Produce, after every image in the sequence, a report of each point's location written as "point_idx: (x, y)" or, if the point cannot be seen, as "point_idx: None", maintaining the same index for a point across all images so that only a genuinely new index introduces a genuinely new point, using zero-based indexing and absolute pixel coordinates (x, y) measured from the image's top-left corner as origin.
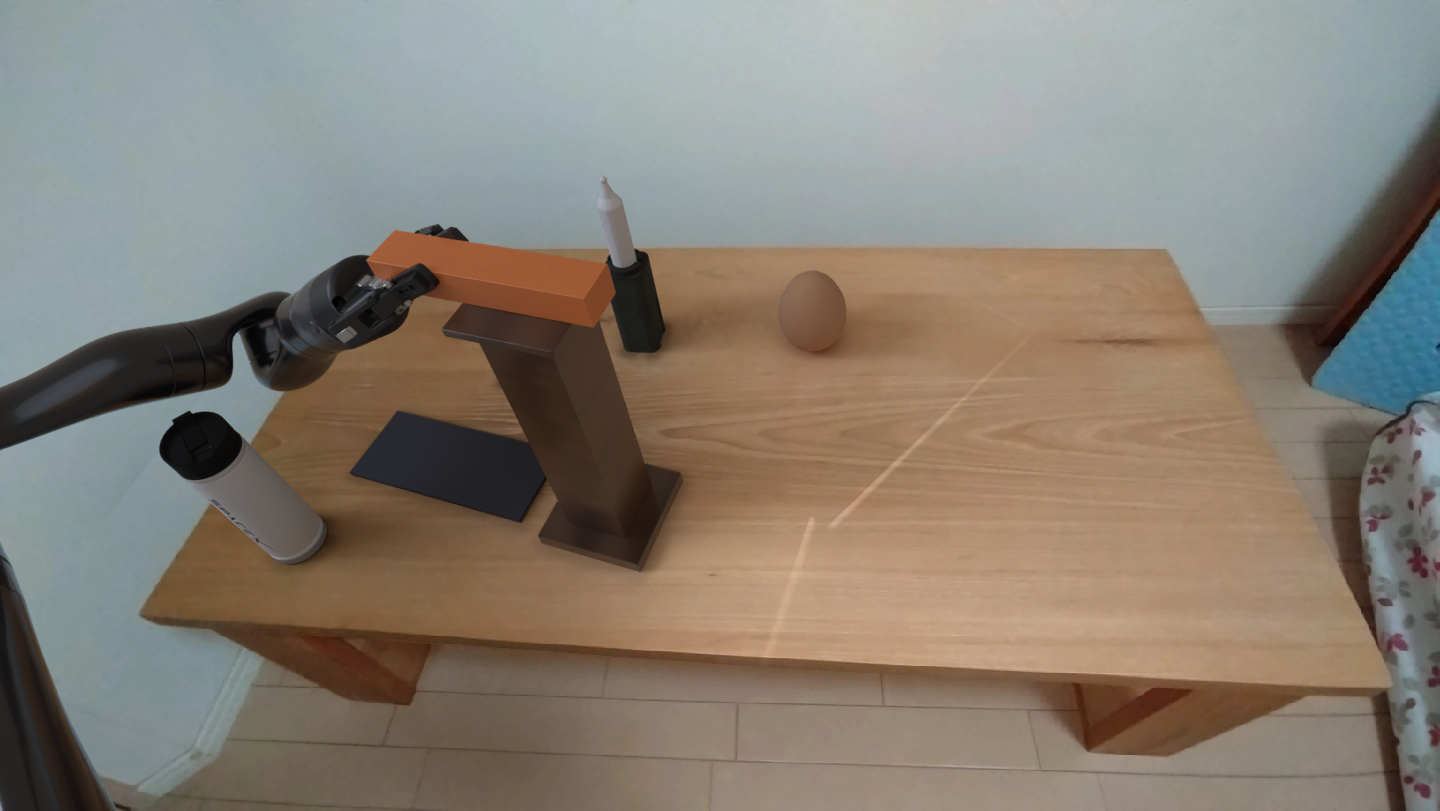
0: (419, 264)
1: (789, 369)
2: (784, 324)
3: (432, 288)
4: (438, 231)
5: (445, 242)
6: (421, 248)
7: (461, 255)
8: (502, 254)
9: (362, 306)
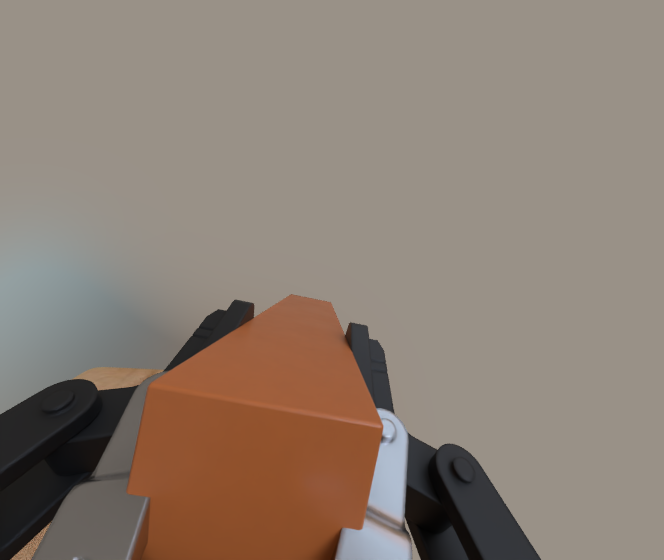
0: (353, 323)
1: (36, 547)
2: None
3: None
4: (98, 391)
5: (261, 323)
6: (283, 340)
7: (295, 319)
8: (287, 307)
9: (497, 496)
